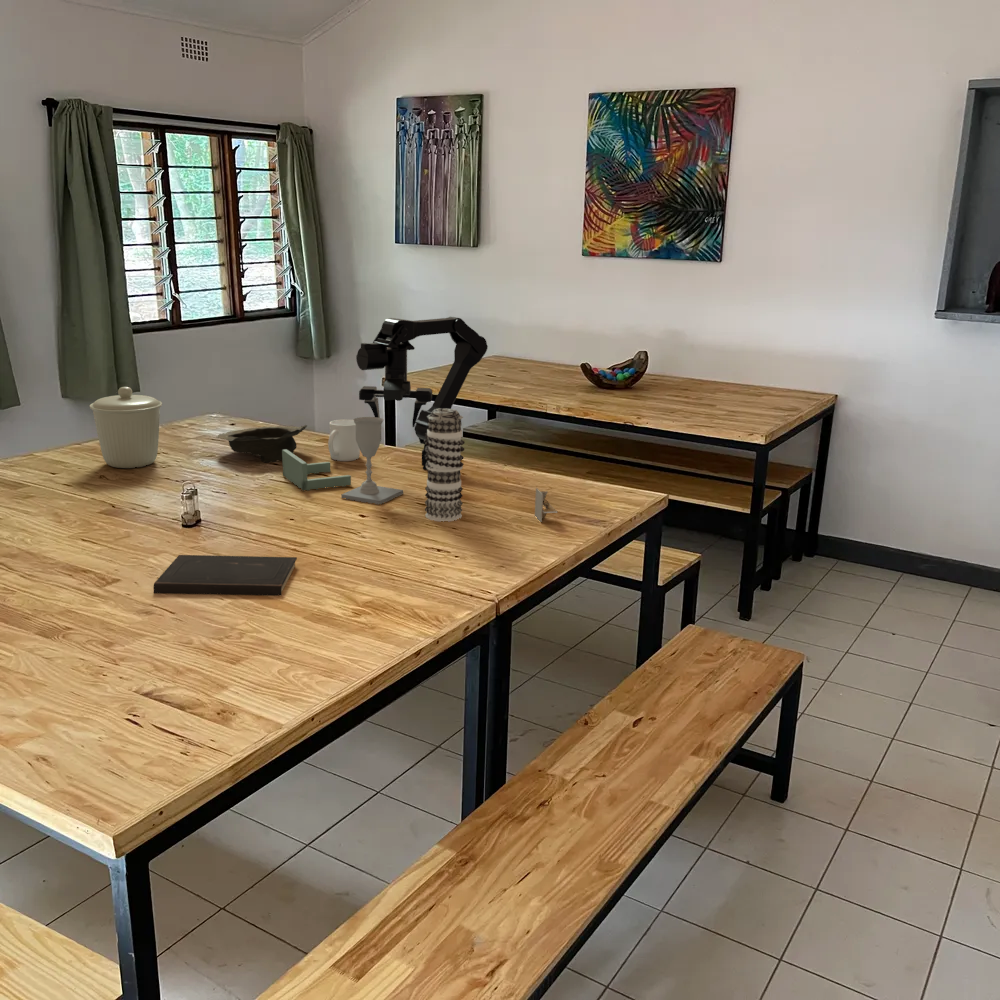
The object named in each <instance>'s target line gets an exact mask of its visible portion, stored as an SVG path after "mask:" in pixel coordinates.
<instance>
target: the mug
mask: <svg viewBox="0 0 1000 1000" xmlns="http://www.w3.org/2000/svg"><path fill="white" fill-rule="evenodd" d="M327 445H328V447H327V448H328V451H329V454H330V458H331V460H334V461H336V460H337V462H352V461H356V459H357V460H358V459H359V458H360V455H361V454H360V453H361V451H360V449H359V447H358V444H357V442H356V424H355V422H354V421H353V419H335V420H331V421H329V437H328V442H327Z"/></svg>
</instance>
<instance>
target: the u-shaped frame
mask: <svg viewBox="0 0 1000 1000" xmlns="http://www.w3.org/2000/svg"><path fill="white" fill-rule="evenodd" d="M281 462H282V476H283V477H284V476H285V477H286V479H287V480H290V481H289V482H291V483H292V482H293V483H294V484H293V483H292V484H293V485H295V486H296V485H297V486H298V487H297V486H296V487H297V488H299V489H300V488H301V489H302V490H303V492H305V491H304V490H307V491H311V490H310V489H316V490H319V489H318V488H325V487H326V488H325V489H328V488H327V487H333V488H337V487H336V486H342V487H347V486H346V485H351V486H352V475H350V474H345V475H337V476H328V477H318V478H310V479H309V478H308V475H311V474H310V473H314V474H320V473H319V472H324V473H331V472H332V471H331V462H330V461H323V462H322V461H321V462H313V463H307V462H306V461H304V460H303V459H302V458H300V457H299V456H297V455H295V454H293V453H291V452H290V451H288V450H287V449H285V450H282V460H281ZM285 477H284V478H285ZM334 486H335V487H334ZM301 489H300V490H301ZM302 490H301V491H302Z"/></svg>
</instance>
